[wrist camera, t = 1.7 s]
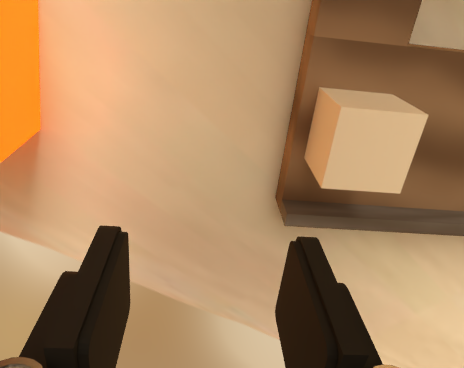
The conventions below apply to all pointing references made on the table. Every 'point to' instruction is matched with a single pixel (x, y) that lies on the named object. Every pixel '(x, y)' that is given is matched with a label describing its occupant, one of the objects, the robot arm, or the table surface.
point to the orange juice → (18, 74)
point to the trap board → (388, 82)
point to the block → (362, 140)
